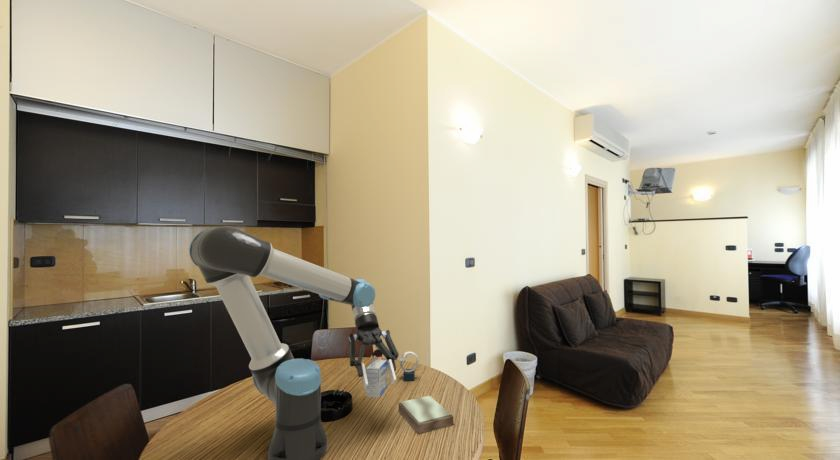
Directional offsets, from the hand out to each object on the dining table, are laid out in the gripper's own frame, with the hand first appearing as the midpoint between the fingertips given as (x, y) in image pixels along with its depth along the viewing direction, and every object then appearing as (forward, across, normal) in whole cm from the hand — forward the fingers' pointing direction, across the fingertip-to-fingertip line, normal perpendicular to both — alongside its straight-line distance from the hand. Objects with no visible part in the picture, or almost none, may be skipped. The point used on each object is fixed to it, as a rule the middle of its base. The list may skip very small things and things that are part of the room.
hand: (380, 383), depth 103 cm
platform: (+8, -16, -13) cm, 22 cm away
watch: (-15, -24, -35) cm, 45 cm away
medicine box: (0, 0, -5) cm, 5 cm away
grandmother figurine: (-25, -16, -46) cm, 55 cm away
